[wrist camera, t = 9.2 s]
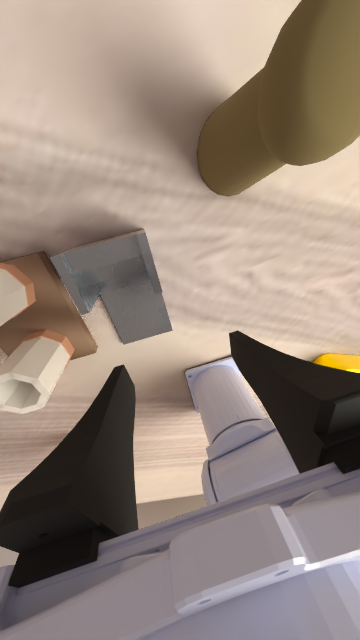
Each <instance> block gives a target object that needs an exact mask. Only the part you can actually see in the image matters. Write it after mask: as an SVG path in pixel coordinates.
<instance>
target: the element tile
mask: <svg viewBox="0 0 360 640" xmlns="http://www.w3.org/2000/svg"><path fill="white" fill-rule="evenodd" d="M313 363H316V364H319V365H324V366H328V367H332V368H337V369H342V370H347V371H353V372H359V373H360V356H359V355H344V354H330V353H329V354H324V355H321V356H319V357H318V358H317V359H316V360H314V362H313Z"/></svg>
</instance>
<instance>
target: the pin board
mask: <svg viewBox="0 0 360 640" xmlns="http://www.w3.org/2000/svg"><path fill="white" fill-rule="evenodd" d="M1 263H4V264H11V265H14V266H15V267H17V268H18V269H19V270H20V271H21V272H22V273H23V274H25V275H26V276H27V277H28V278H29V279H30V280H31V281H33V284H34V292H35V299H36V301H35V302H34V303H33V304H31V305H30V306H29V307H27V308H26V309H25V310H24V311H22V312H21V313H20V314H18V315H17V316H16V317H14V318H11V319H10V320H8V321H7V322H6V323H4V324H3V325H2V326H0V347H1V348H2V349H3V351H4V352H5V353H6V354H7V355H8V356H10V355H11V354H12V353H13V352H14V351H15V349H16V348H17V347H18V346H19V345H20V344H21V342H22V341H23V340H24V339H25V338H26V337H27V336H28V335H29V334H32V333H36V332H39V331H43V330H50V331H53V332H56V333H58V334H61V335H64V336H66V337H67V338H68V340H69V342H70V343H71V345H72V346H73V348H74V349H75V350H74V352H73V354H72V356H71V358H70V360H73V359H76V358H80V357H83V356H87V355H90V354H93V353H96V350H97V347H98V346H97V345H96V343H95V341H94V339H93V337H92V336H91V334H90V332H89V330H88V329H87V327H86V325H85V323H84V321H83V320H82V318H81V316H80V314H79V313H78V311H77V309H76V307H75V305H74V304H73V302H72V300H71V298H70V297H69V295H68V293H67V291H66V289H65V288H64V286H63V284H62V282H61V281H60V279H59V277H58V275H57V273H56V272H55V270H54V268H53V266H52V265H51V263H50V261H49V259H48V257H47V256H46V254H45V252H44V251H43V252H39V253H35V254H31V255H27V256H24V257H20V258H16V259H12V260H8V261H4V262H1Z"/></svg>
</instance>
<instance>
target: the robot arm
mask: <svg viewBox="0 0 360 640" xmlns="http://www.w3.org/2000/svg"><path fill="white" fill-rule="evenodd" d="M229 337H230V346H231V355H232V357H228V358H225V359H222V360H218V361H215V362H212V363H209V364H205V365H202V366H199V367H196V368H192V369H189V370H186V372H185V375H186V378H187V382H188V385H189V389H190V392H191V395H192V399H193V402H194V406H195V409H196V412H197V413H200V415H201V419H202V422H203V425H204V429H205V432H206V435H207V438H208V442H209V445H210V446H209V447H207V448H206V451H207V455H208V458H209V459H208V460H206V461H204V463H203V469H202V475H201V478H202V487H203V492H204V496H205V500H206V503H207V506H205V507H203V508H200V509H197V510H194V511H191V512H188V513H185V514H182V515H179V516H176V517H174V518H171V519H168V520H165V521H162V522H160V523H156V524H153V525H151V526H148V527H145V528H142V529H139V530H138V519H137V510H136V509H137V508H136V495H135V481H134V460H133V432H134V417H135V386H134V384H133V382H132V380H131V378H130V376H129V374H128V372H127V370H126V368H125V366H124V365H121V366H117V367H115V368H114V369H113V371H112V373H111V374H110V376H109V378H108V379H107V381H106V383H105V384H104V386H103V388H102V389H101V391H100V392H99V394H98V396H97V397H96V399H95V400H94V402H93V403H92V405H91V406H90V408H89V409H88V410H87V412H86V413H85V414H84V416H83V417H82V418H81V420H80V421H79V422H78V423H77V425H76V426H75V427H74V428H73V429H72V431H71V432H70V433H69V434H68V435H67V436H66V437H65V438H64V440H63V441H62V442H61V443H60V444H59V445H58V446H57V447H56V448H55V449H54V450H53V451H52V452H51V453H50V454H49V455H48V456H47V457H46V458H45V459H44V460H43V461H42V462H41V463H40V464H39V465H38V466H37V467H36V468H35V469H34V470H33V471H32V472H31V473H30V474H29V475H27V476H26V477H25V478H24V479H23V480H22V481H21V482H20V483H19V484H17V485H16V486H15V487H14V488H13V489H12V490H11V491H10V493H9V495H8V497H7V499H6V501H5V503H4V505H3V507H2V509H1V511H0V546H1V547H4V548H7V549H9V550H12V551H15V552H18V553H19V556H18V558H17V561H16V564H15V565H8V566H4V567H0V640H360V373H359V372H353V371H347V370H342V369H337V368H332V367H328V366H324V365H319V364H316V363H312V362H309V361H305V360H302V359H299V358H296V357H293V356H290V355H287V354H285V353H282V352H280V351H277V350H275V349H273V348H270V347H268V346H266V345H264V344H262V343H260V342H258V341H256V340H254V339H252V338H251V337H249V336H247V335H245V334H243V333H241V332H239V331H235V332H231V333H229ZM241 373H242V375H243V376H244V378H245V379H246V381H247V382H248V383H249V385H250V386H251V388H252V389H253V390H254V392H255V393H256V395H257V396H258V398H259V399H260V401H261V402H262V404H263V406H264V407H265V409H266V411H267V413H268V414H269V416H270V418H271V420H272V421H273V423H274V425H275V427H276V428H275V427H274V425H273V424H272V422H271V420H270V419H269V418H268V417H267V418H266V416H265V415H264V413H263V412H262V410H261V408H260V407H259V405H258V404H257V402H256V401H255V399H254V397H253V396H252V394H251V393H250V391H249V390H248V388H247V386H246V385H245V383H244V382H243V380H242V378H241ZM189 375H190V376H189ZM276 429H277V430H276Z"/></svg>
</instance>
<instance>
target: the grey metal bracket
mask: <svg viewBox="0 0 360 640" xmlns="http://www.w3.org/2000/svg"><path fill="white" fill-rule="evenodd" d="M50 259H51V261H52V263H53V265H54V266H55V268H56V270H57V272H58V274H59V275H60V277H61V279H62V281H63V282H64V284H65V286H66V288H67V290H68V291H69V293H70V295H71V297H72V299H73V300H74V302H75V304H76V306H77V308H78V309H79V311H80V313H81V315H82V314H86V313H89V312H90V311H91V309H92V307H93V305H94V304H95V302H96V300H97V298H98V297H99V295H101V297H102V300H103V302H104V304H105V306H106V308H107V310H108V312H109V314H110V317H111V319H112V321H113V323H114V325H115V327H116V329H117V331H118V334H119V336H120V338H121V340H122V342H123V344H128V343H131V342H134V341H138V340H141V339H145V338H148V337H151V336H155V335H158V334H162V333H165V332H169V331H172V327H171V324H170V320H169V317H168V313H167V310H166V306H165V303H164V300H163V296H162V293H161V292H162V289H161V285H160V282H159V278H158V275H157V272H156V268H155V265H154V261H153V258H152V254H151V251H150V247H149V244H148V240H147V237H146V233H145V230H144V229H142V230H138V231H134V232H130V233H126V234H123V235H119V236H115V237H111V238H107V239H103V240H100V241H96V242H92V243H88V244H84V245H81V246H77V247H75V248H72V249H70V250H67V251H65V252H62V253H60V254H57V255H55V256H52V257H50Z"/></svg>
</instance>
